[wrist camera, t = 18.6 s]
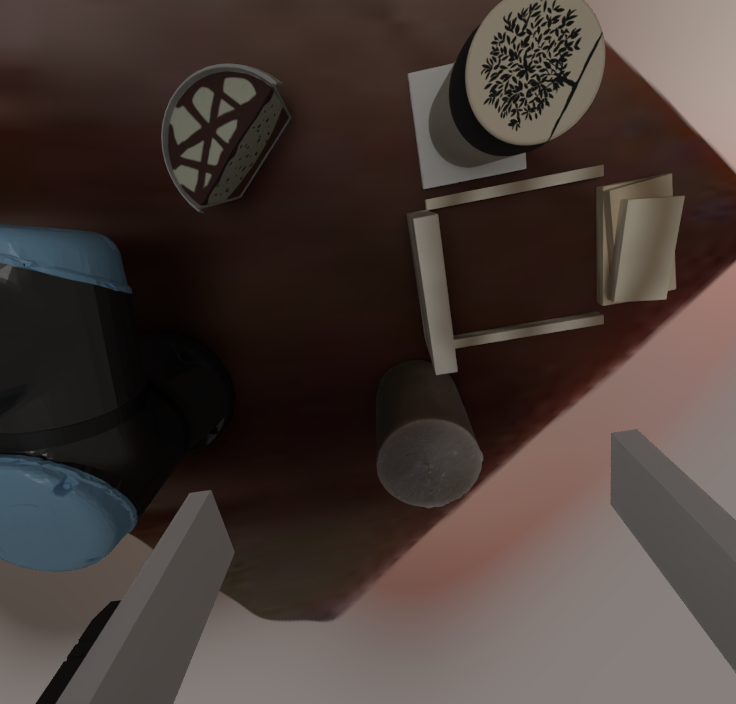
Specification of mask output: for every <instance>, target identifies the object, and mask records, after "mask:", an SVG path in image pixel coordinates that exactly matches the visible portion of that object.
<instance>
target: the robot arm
mask: <svg viewBox="0 0 736 704" xmlns="http://www.w3.org/2000/svg"><path fill="white" fill-rule="evenodd" d="M130 294H132V289H131V287H129V286H128V284H127V280H126V276H125V272H124V268H123V263H122V259H121V255H120V252H119V250H118V248H117V246H116V245H115V244H114V243H113V242H112V241H111V240H110V239H109V238H107V237H106V236H104V235H102V234H99V233H96V232H90V231H81V230H70V229H58V228H45V227H32V226H17V225H5V224H0V558H1V559H3V560H5V561H7V562H9V563H12V564H15V565H18V566H21V567H25V568H29V569H34V570H40V571H52V572H62V571H72V570H77V569H81V568H85V567H88V566H90V565H92V564H94V563H96V562H98V561H100V560H101V559H102V558H104V557H106V556H107V555H108V554H109V553H110V552H111V551H112V550H113V549H114V548H115V546H116V545H117V544H118V543H119V542H120V540H121V539H122V538H123V537H124V536H125V535H126V534H127V533H129V532H130V531H132V530H133V528H134V527H135V526H136V524H137V521H138V519H139V518H140V516H141V515H142V513H143V512H144V511H145V509H146V508H147V507H148V505H149V504H150V502H151V501H152V500H153V498H154V497H155V495H156V494H157V493H158V491H159V490H160V489H161V487H162V486H163V484H164V483H165V482H166V480H167V479H168V477H169V476H170V475H171V473H172V472H173V471H174V469H175V468H176V467H177V465H178V464H179V462H180V461H181V460H182V459H183V458H185V457H187V456H189V455H191V454H192V453H194V452H196V451H198V450H200V449H202V448H203V447H205V446H207V445H208V444H209V443H211V442H212V441H213V440H214V439H215V438H216V437H217V436H218V435H219V434H220V432H221V431H222V429H223V428H224V427H225V425H226V424H227V422H228V420H229V418H230V416H231V413H232V410H233V405H234V391H233V386H232V382H231V379H230V377H229V375H228V372H227V371H226V369H225V367H224V366H223V364H222V363H221V361H220V360H219V359H218V358H217V357H216V356H215V355H214V354H213V353H212V352H211V351H210V350H209V349H208V348H206V347H205V346H203V345H202V344H200V343H199V342H197V341H195V340H193V339H191V338H189V337H186V336H183V335H180V334H176V333H171V332H151V333H146V334H142V335H139V336H138V335H137V330H136V324H135V319H134V313H133V308H132V302H131V297H130ZM611 505H612V506H613V508H614V509H615V511H616V512H617V513H618V514H619V516H620V517H621V518H622V520H623V521H624V523H625V524H626V525H627V527H628V528H629V529H630V531H631V532H632V533H633V535H634V536H635V537H636V539H637V540H638V542H639V543H640V544H641V545H642V547H643V548H644V550H645V551H646V552H647V553H648V555H649V556H650V558H651V559H652V560H653V562H654V563H655V564H656V566H657V567H658V568H659V570H660V571H661V572H662V574H663V575H664V577H665V578H666V579H667V581H668V582H669V583H670V585H671V586H672V587H673V589H674V590H675V591H676V593H677V594H678V595H679V597H680V598H681V599H682V601H683V602H684V604H685V605H686V606H687V608H688V609H689V610H690V612H691V613H692V614H693V616H694V617H695V618H696V620H697V621H698V622H699V624H700V625H701V626H702V628H703V629H704V630H705V632H706V633H707V634H708V636H709V637H710V639H711V640H712V641H713V642H714V644H715V645H716V647H717V648H718V649H719V651H720V652H721V653H722V654H723V656H724V657H725V659H726V660H727V661H728V662H729V664H730V665H731V666H732V668H733V669H734V671H735V672H736V520H735V519H734V518H733V517H732V516H731V515H729V514H728V513H727V512H726V511H725V510H724V509H723V508H722V507H721V506H720V505H719V504H717V503H716V502H715V501H714V500H713V499H712V498H711V497H710V496H709V495H708V494H707V493H706V492H704V491H703V490H702V489H701V488H700V487H699V486H698V485H697V484H696V483H695V482H694V481H693V480H691V479H690V478H689V477H688V476H687V475H686V474H685V473H684V472H683V471H682V470H680V469H679V468H678V467H677V466H676V465H675V464H674V463H673V462H672V461H671V460H670V459H669V458H667V457H666V456H665V455H664V454H663V453H662V452H661V451H660V450H659V449H658V448H657V447H655V446H654V445H653V444H652V443H651V442H650V441H649V440H648V439H647V438H646V437H645V436H644V435H642V434H641V433H640V432H639V431H638V430H637V429H635V430H629V431H621V432H615V433H611ZM234 553H235V552H234V549H233V547H232V544H231V541H230V539H229V536H228V533H227V531H226V528H225V526H224V523H223V520H222V518H221V515H220V512H219V510H218V507H217V504H216V502H215V499H214V497H213V494H212V491H211V490H208V491H201V492H194V493H189V495H188V497H187V498H186V500H185V501H184V503H183V504H182V506H181V508H180V509H179V511H178V512H177V514H176V515H175V517H174V519H173V520H172V522H171V523H170V525H169V526H168V528H167V530H166V531H165V533H164V534H163V536H162V537H161V539H160V541H159V542H158V544H157V545H156V547H155V548H154V550H153V552H152V553H151V555H150V556H149V558H148V560H147V561H146V563H145V564H144V566H143V567H142V569H141V570H140V572H139V574H138V575H137V577H136V578H135V580H134V581H133V583H132V585H131V586H130V588H129V589H128V591H127V593H126V594H125V596H124V597H123V599H122V600H121V601H112V602H110V603H109V604H108V605H107V606H106V607H105V608H104V609H103V610H102V611H101V612H100V613H99V614H98V615H97V616H96V617H95V618H94V619H93V620H92V621H91V623H90V624H89V626H88V627H87V628H86V630H85V632H84V633H83V634H82V636H81V637H80V639H79V643H78V644H76V645H75V646H74V648H73V649H72V651H71V652H70V654H69V655H68V657H67V661H65V662H63V664H62V665H61V667H60V669H59V670H58V671H57V673H56V674H55V676H54V677H53V679H52V680H51V682H50V683H49V685H48V686H47V688H46V689H45V691H44V692H43V694H42V695H41V697H40V698H39V700H38V701H37V702H36V704H173V703H174V701H175V698H176V696H177V693H178V691H179V688H180V686H181V683H182V681H183V678H184V676H185V673H186V671H187V668H188V666H189V664H190V661H191V659H192V656H193V654H194V651H195V649H196V646H197V644H198V641H199V639H200V637H201V634H202V632H203V629H204V627H205V624H206V622H207V619H208V617H209V614H210V611H211V609H212V607H213V605H214V602H215V599H216V597H217V595H218V592H219V590H220V587H221V585H222V582H223V580H224V577H225V575H226V573H227V570H228V568H229V565H230V563H231V560H232V558H233V555H234Z"/></svg>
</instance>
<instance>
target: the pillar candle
mask: <svg viewBox="0 0 736 704" xmlns="http://www.w3.org/2000/svg"><path fill="white" fill-rule="evenodd" d="M378 385H379V387H378V391H377V393H376V467H377V473H378V476H379V479H380V481H381V483H382V485H383V486H384V488H385V489H386V490H387V491H388V492H389V493H390V494H391V495H392V496H394V497H395V498H397V499H399V500H400V501H403V502H405V503H408V504H410V505H414V506H422V507H426V508H432V507H440V506H444V505H445V504H449V502H452V501H453V500H456V499H459V498H461V497H462V495H463V494H465V493H467V492H468V491H469V490H470V488H471V487H472V486H473V484H474V483H475V482H476V481H477V479H478V476H479V473H480V471H481V466H482V461H484V460H483V453H482V452H481V451H480V448H479V446H478V443H477V441H476V438H475V436H474V433H473V430H472V427H471V424H470V422H469V419H468V416H467V414H466V411H465V409H464V406H463V404H462V401H461V398H460V396H459V393H458V391H457V388H456V385H455V383H454V381H453V380H452V378H451V376H450V375H449V374H448V373H446V374H440V375H436V374H435V370H434V367H433V364H432V362H429V361H425V360H410V361H409V360H408V361H405V362H402V363H399V365H398V364H397V365H395V366H394V367H392V368H391V369H389V370H388V371H387V372H386V373H385V374H384V376H383V377H382V378H381V380H380V381H379V384H378Z"/></svg>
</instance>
